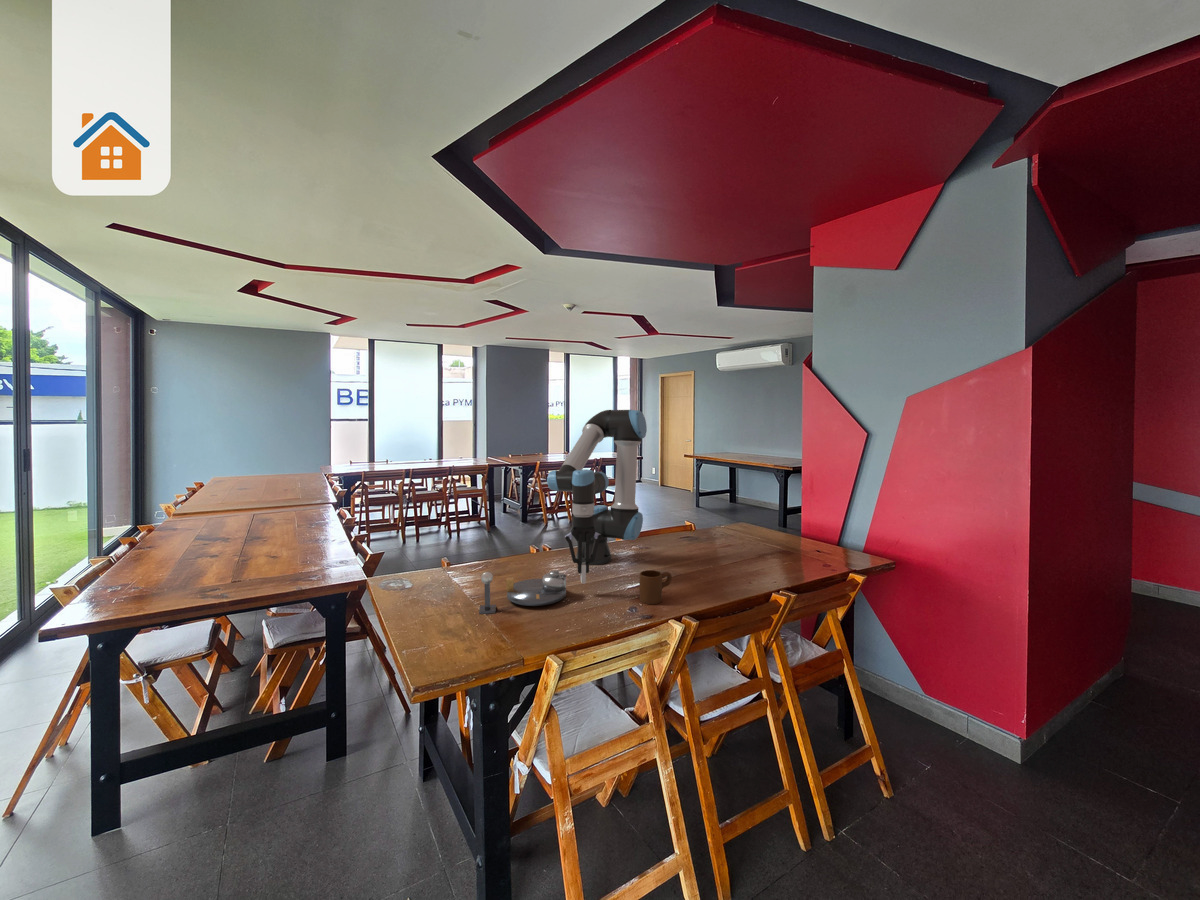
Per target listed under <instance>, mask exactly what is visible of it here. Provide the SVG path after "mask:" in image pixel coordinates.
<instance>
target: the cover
mask: <svg viewBox="0 0 1200 900" xmlns="http://www.w3.org/2000/svg"><path fill="white" fill-rule="evenodd" d="M542 579H543V590H545V591H548V592H558V591H562V590H564V589H566V590H567V575H566V574H565V573H562V572H560V571H559V570H551V571H549V572H548V573H545V574H543V575H542Z"/></svg>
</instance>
